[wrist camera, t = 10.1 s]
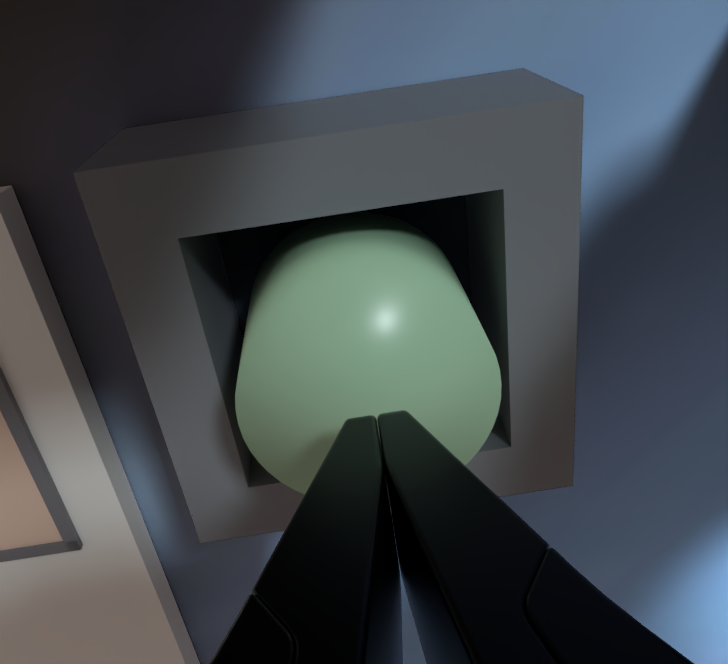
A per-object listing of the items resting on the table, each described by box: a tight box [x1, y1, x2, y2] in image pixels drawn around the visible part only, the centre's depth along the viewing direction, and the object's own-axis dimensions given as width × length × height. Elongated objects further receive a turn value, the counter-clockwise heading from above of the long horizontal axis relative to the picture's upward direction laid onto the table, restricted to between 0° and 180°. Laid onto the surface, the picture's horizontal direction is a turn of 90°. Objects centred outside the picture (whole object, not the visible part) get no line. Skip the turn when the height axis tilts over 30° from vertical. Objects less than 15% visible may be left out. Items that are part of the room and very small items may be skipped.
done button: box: [235, 212, 502, 502], centre depth 11 cm, size 4×4×3 cm
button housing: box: [73, 68, 584, 543], centre depth 13 cm, size 7×7×3 cm
